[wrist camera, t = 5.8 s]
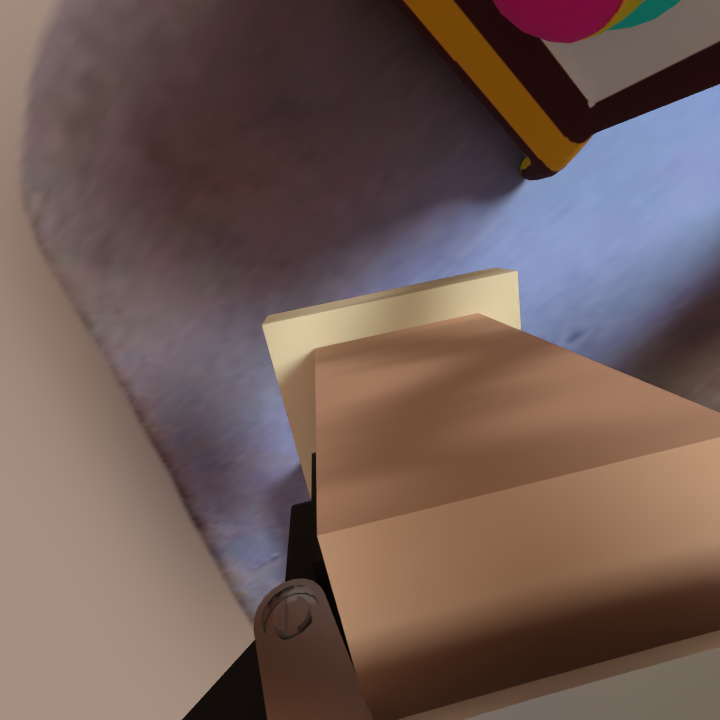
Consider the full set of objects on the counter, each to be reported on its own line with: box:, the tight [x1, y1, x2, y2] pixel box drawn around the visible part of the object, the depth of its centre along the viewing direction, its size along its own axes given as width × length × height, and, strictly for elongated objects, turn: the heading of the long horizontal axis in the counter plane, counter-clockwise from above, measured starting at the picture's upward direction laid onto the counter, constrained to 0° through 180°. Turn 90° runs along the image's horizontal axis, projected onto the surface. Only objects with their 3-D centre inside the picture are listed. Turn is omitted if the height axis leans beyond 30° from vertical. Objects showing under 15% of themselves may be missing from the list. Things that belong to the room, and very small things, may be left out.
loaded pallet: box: [262, 268, 720, 720], centre depth 10 cm, size 8×10×9 cm
